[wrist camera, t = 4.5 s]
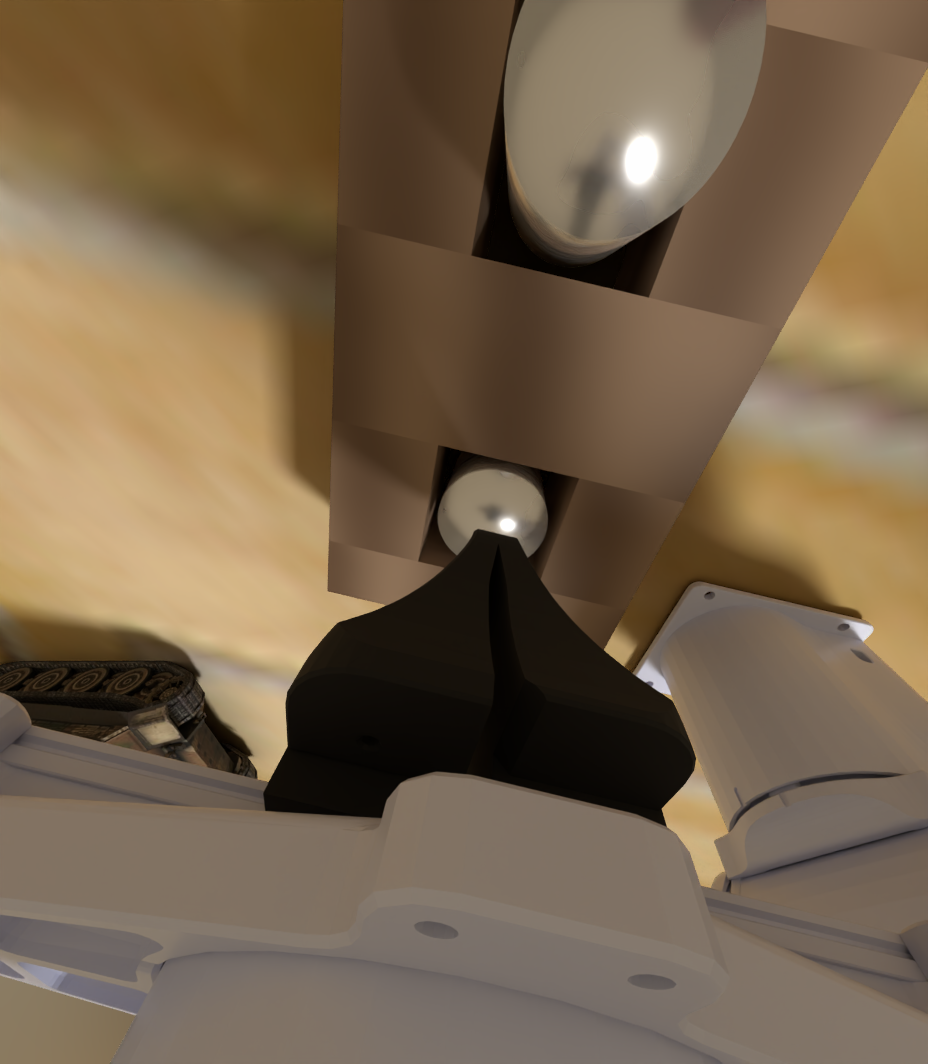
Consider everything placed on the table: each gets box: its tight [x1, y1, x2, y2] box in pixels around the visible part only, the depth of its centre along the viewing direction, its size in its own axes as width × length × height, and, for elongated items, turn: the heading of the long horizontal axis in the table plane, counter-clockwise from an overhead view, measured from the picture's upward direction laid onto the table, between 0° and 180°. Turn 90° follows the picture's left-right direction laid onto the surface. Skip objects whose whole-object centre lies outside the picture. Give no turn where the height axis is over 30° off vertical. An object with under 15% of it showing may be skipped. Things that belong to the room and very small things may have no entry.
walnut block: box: [328, 0, 928, 650], centre depth 13 cm, size 12×20×5 cm, turn 169°
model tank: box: [0, 661, 258, 779], centre depth 26 cm, size 13×22×15 cm, turn 98°
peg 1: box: [438, 451, 548, 557], centre depth 16 cm, size 4×4×5 cm
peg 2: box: [504, 0, 767, 268], centre depth 8 cm, size 4×4×5 cm
